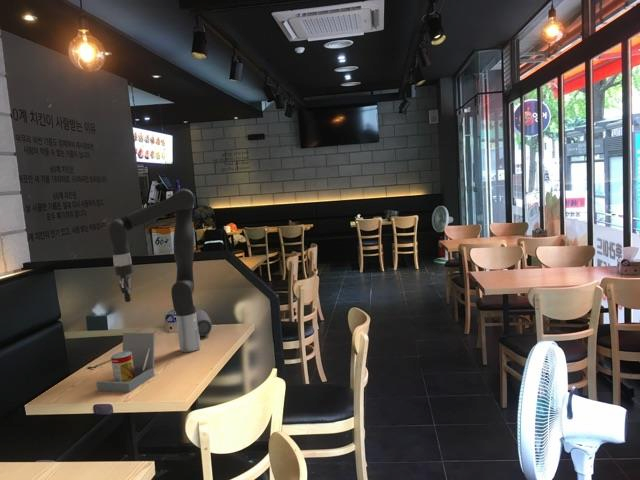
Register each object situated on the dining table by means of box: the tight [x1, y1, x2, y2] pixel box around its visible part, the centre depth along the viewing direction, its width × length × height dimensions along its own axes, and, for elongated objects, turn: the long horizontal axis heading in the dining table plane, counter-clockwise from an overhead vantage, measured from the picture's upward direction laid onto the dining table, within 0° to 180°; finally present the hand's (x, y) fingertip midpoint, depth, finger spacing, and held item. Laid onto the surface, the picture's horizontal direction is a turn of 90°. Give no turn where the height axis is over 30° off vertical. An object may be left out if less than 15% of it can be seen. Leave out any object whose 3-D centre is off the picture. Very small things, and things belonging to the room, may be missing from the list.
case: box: [95, 332, 156, 393], centre depth 213 cm, size 15×20×17 cm
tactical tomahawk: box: [87, 358, 112, 371], centre depth 241 cm, size 21×7×1 cm, turn 146°
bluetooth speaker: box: [196, 309, 213, 336], centre depth 274 cm, size 23×9×10 cm, turn 17°
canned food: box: [110, 350, 136, 382], centre depth 212 cm, size 8×8×12 cm
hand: (128, 301), depth 238 cm, fingers closed
